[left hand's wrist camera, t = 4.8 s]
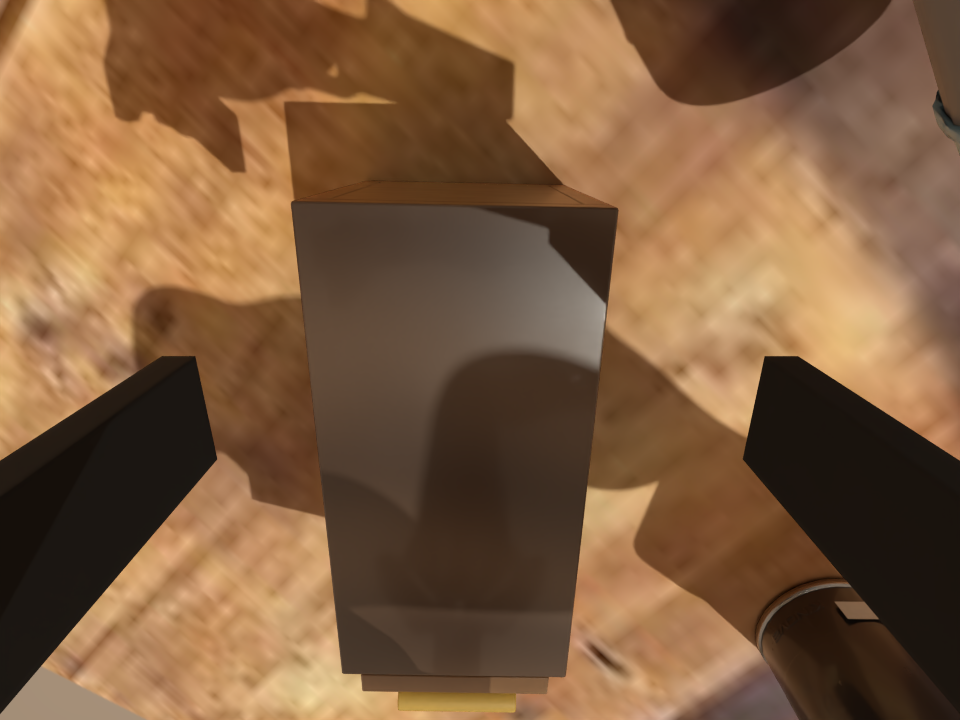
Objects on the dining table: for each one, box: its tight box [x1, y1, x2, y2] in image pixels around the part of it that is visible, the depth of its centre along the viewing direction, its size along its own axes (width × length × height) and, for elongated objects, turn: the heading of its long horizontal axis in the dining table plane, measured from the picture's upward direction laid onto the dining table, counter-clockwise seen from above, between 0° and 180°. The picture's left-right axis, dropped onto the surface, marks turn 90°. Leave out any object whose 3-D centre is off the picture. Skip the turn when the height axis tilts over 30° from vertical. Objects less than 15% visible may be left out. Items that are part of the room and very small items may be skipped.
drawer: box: [361, 674, 549, 712], centre depth 29 cm, size 26×9×10 cm, turn 179°
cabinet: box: [291, 181, 618, 677], centre depth 26 cm, size 22×11×12 cm, turn 179°
